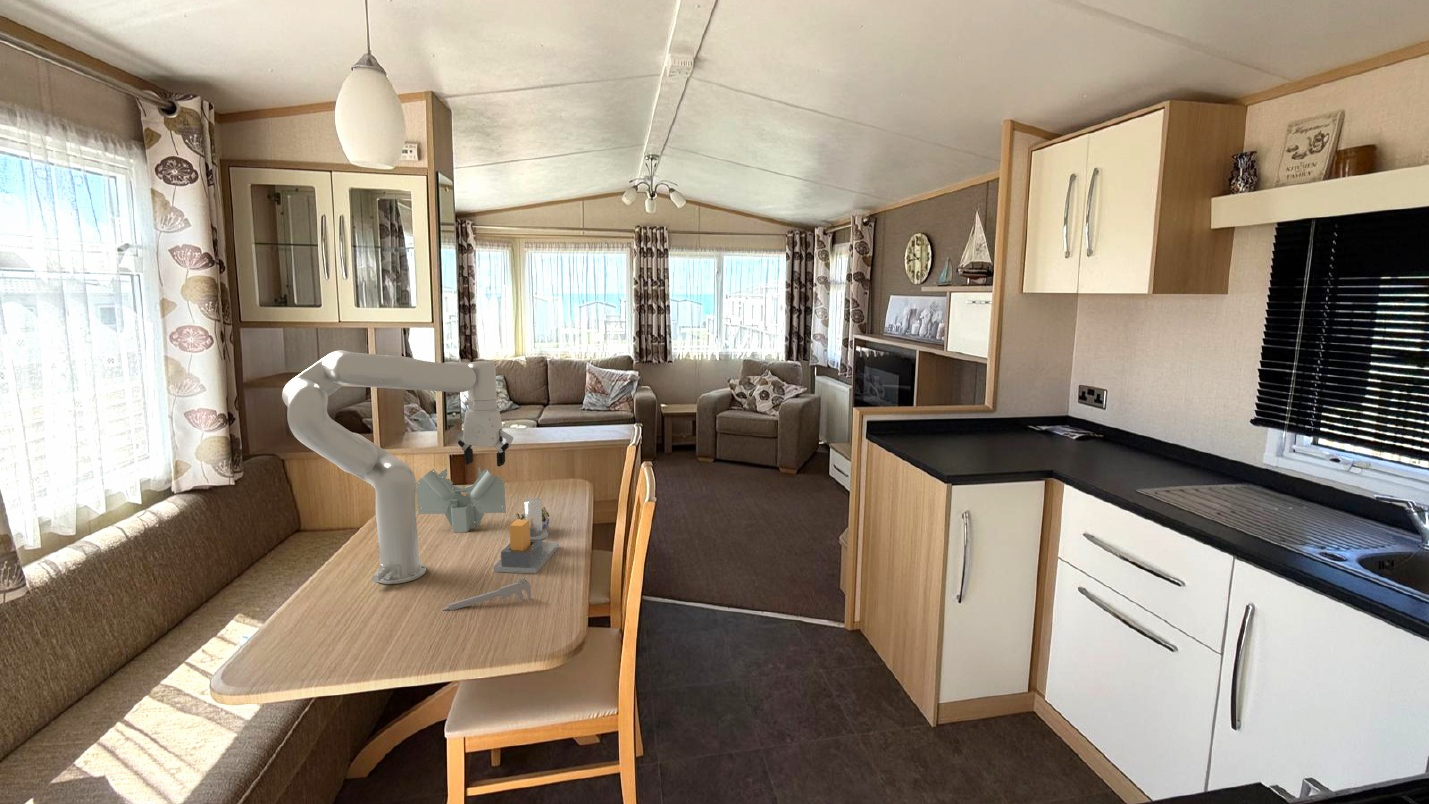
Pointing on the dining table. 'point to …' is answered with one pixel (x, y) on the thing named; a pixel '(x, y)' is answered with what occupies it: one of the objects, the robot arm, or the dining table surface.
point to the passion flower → (544, 518)
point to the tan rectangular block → (520, 535)
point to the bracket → (461, 498)
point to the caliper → (494, 594)
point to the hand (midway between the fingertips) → (484, 464)
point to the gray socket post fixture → (538, 549)
